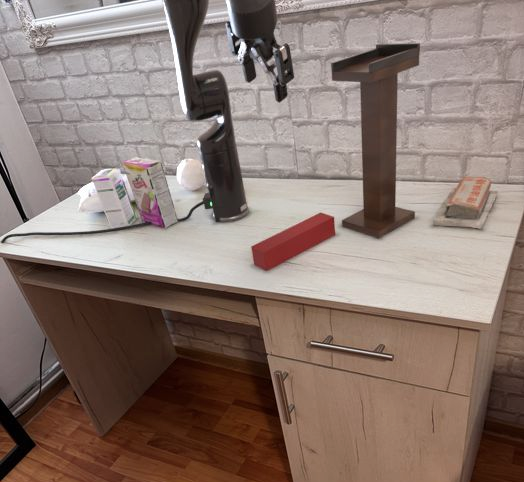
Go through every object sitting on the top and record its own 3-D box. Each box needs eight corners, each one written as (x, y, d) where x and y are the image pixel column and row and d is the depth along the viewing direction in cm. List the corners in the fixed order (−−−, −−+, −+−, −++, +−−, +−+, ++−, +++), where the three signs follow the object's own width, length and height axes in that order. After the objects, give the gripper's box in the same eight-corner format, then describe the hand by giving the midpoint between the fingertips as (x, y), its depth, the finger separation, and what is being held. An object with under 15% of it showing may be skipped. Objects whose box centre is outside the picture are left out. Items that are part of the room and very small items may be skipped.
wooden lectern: (375, 240, 102) (373, 59, 81) (338, 228, 110) (328, 59, 89) (414, 218, 108) (422, 42, 87) (377, 208, 115) (376, 44, 94)
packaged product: (454, 173, 112) (500, 175, 107) (452, 194, 115) (497, 196, 110) (434, 205, 100) (485, 208, 96) (432, 226, 103) (481, 230, 99)
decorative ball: (172, 201, 148) (167, 160, 144) (205, 199, 151) (201, 159, 148) (178, 200, 140) (173, 157, 136) (212, 198, 143) (208, 156, 140)
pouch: (135, 163, 150) (71, 177, 147) (143, 182, 136) (72, 198, 132) (142, 188, 155) (80, 202, 152) (150, 209, 141) (82, 225, 137)
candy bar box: (140, 222, 132) (121, 162, 122) (155, 215, 135) (136, 155, 125) (164, 229, 125) (145, 166, 115) (179, 221, 128) (162, 159, 118)
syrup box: (129, 227, 130) (110, 174, 121) (110, 229, 132) (90, 176, 123) (137, 218, 135) (119, 167, 126) (118, 220, 136) (100, 169, 127)
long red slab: (266, 271, 99) (263, 252, 97) (254, 265, 102) (250, 246, 100) (335, 235, 107) (334, 216, 105) (322, 230, 110) (320, 212, 108)
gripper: (298, -2, 70) (307, 94, 85) (238, -33, 76) (256, 62, 91) (261, 26, 69) (276, 118, 84) (202, -8, 75) (226, 84, 90)
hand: (266, 89), depth 87 cm, fingers open, 8 cm apart
